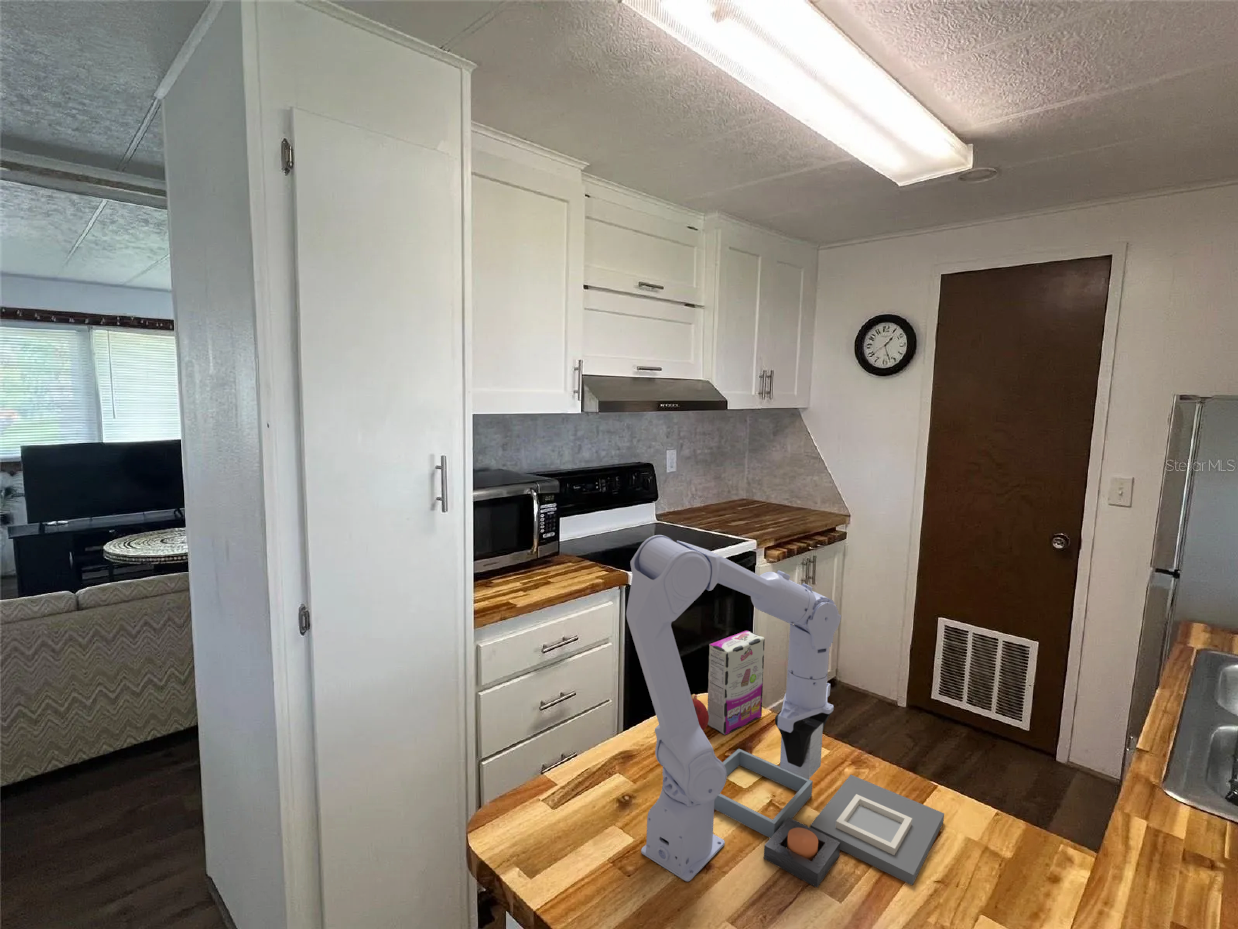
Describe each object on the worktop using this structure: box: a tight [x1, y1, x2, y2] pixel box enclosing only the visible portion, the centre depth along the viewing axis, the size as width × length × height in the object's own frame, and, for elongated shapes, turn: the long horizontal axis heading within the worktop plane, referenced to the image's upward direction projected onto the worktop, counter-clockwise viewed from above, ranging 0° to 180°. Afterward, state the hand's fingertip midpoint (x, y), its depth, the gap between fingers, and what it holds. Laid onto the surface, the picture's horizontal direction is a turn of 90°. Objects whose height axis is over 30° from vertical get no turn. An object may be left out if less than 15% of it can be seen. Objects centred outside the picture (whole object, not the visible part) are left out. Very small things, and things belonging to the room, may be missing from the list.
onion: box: [691, 693, 709, 732], centre depth 115 cm, size 6×6×8 cm
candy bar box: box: [706, 630, 766, 736], centre depth 120 cm, size 11×5×16 cm, turn 129°
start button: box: [787, 828, 818, 861], centre depth 86 cm, size 4×4×2 cm
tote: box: [714, 748, 813, 839], centre depth 98 cm, size 13×13×2 cm
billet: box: [779, 717, 824, 780], centre depth 94 cm, size 4×4×7 cm
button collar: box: [763, 817, 841, 888], centre depth 86 cm, size 8×8×2 cm
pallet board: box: [809, 774, 945, 886], centre depth 92 cm, size 16×14×2 cm
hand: (802, 756), depth 94 cm, fingers closed on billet, 4 cm apart
